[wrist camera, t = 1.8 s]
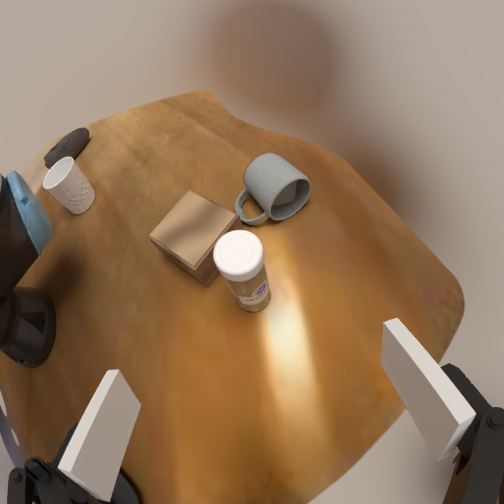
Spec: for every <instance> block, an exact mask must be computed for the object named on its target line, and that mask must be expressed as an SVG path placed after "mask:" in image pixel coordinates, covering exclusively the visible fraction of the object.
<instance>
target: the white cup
mask: <svg viewBox="0 0 504 504" xmlns="http://www.w3.org/2000/svg"><path fill="white" fill-rule="evenodd" d="M43 187H44V188H45V189H46V190H47V191H48V192H49V193H50V194H51V195H52V196H53V197H54V198H56V199H57V200H58V201H59V202H60V203H61V204H62V205H63V206H65V207H66V208H68V209H69V210H70V211H71V212H72V213H73V214H77V215H79V214H81V213H84V212H85V211H86V210H87V209H88V208H89V207H90V206H91V205H92V203H93V201H94V199H95V191H94V189H93V188H92V187H91V185H90V184H89V182H88V180H87V179H86V177H85V176H84V174H83V173H82V171H81V170H80V168H79V167H78V165H77V164H76V163H75V161H74V160H73V158H72V157H65V158H63V159H61V160H59V161H58V162H57V163H56V164H54V165H53V166H52V168H51V169H50V170H49V171H48V173H47V175H46V176H45V179H44V182H43Z"/></svg>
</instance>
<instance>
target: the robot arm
mask: <svg viewBox="0 0 504 504" xmlns="http://www.w3.org/2000/svg"><path fill="white" fill-rule="evenodd" d="M52 234H53V228H52V224H51V222H50V220H49V218H48V216H47V214H46V212H45V211H44V209H43V208H42V206H41V204H40V203H39V201H38V200H37V198H36V197H35V195H34V194H33V192H32V191H31V189H30V188H29V186H28V185H27V183H26V182H25V181H24V179H23V178H22V177H21V176H20V174H18V173H17V172H16V171H12V172H11V173H9V174H7V177H6V178H4V177H3V176H2V175H1V174H0V350H1V351H2V352H3V353H5V354H6V355H7V356H8V357H10V358H11V359H12V360H14V361H15V362H17V363H18V364H20V365H23V366H27V367H32V368H33V367H37V366H39V365H41V364H42V363H43V362H44V361H45V360H46V358H47V357H48V355H49V353H50V351H51V348H52V345H53V342H54V337H55V329H56V319H55V311H54V307H53V304H52V302H51V300H50V298H49V297H48V296H47V295H46V294H45V293H43V292H41V291H39V290H38V289H35V288H30V287H20V286H16V285H17V284H18V282H19V281H20V279H21V278H22V277H23V275H24V274H25V273H26V271H27V270H28V269H29V268H30V266H31V265H32V264H33V262H34V261H35V260H36V259H37V257H38V256H40V255H41V253H42V252H41V251H42V250H43V249H44V247H45V246H46V245H47V243H48V242H49V241H50V239H51V237H52ZM381 366H382V368H383V369H384V371H385V372H386V374H387V376H388V377H389V379H390V381H391V382H392V384H393V386H394V387H395V389H396V391H397V392H398V394H399V396H400V397H401V399H402V401H403V403H404V404H405V406H406V408H407V409H408V411H409V413H410V414H411V416H412V418H413V420H414V422H415V423H416V425H417V427H418V428H419V431H420V432H421V434H422V436H423V438H424V440H425V441H426V443H427V445H428V447H429V449H430V451H431V452H432V454H433V456H434V458H435V460H436V462H437V461H439V460H441V459H443V458H445V457H447V456H448V455H450V454H452V453H453V451H454V450H455V448H456V447H458V449H459V450H460V452H459V453H458V455H457V456H456V457H455V459H454V461H453V463H455V462H456V461H457V462H456V465H455V469H454V472H453V476H452V479H451V482H450V485H449V488H448V491H447V493H446V496H445V499H444V501H443V504H496V503H497V499H498V495H499V504H504V409H502V408H499V407H494V408H493V407H491V406H490V405H489V404H488V403H487V401H486V400H485V399H484V397H483V396H482V395H481V394H480V393H479V391H478V390H477V389H476V388H475V386H474V385H473V384H471V382H470V380H469V379H468V378H466V376H465V375H464V374H463V372H462V371H461V370H460V369H459V368H458V367H455V366H454V365H452V364H450V363H449V364H447V365H444V366H442V367H439V366H438V364H437V363H436V362H435V361H434V360H433V358H432V357H431V356H430V355H429V354H428V352H427V351H426V350H425V349H424V348H423V347H422V345H421V344H420V343H419V342H418V341H417V340H416V338H415V337H414V336H413V335H412V334H411V333H410V332H409V330H408V329H407V328H406V327H405V326H404V325H403V324H402V323H401V322H400V320H399V319H398V318H395V319H392V320H389V321H386V322H383V341H382V356H381ZM140 407H141V404H140V403H139V401H138V400H137V398H136V396H135V395H134V393H133V392H132V390H131V389H130V387H129V385H128V384H127V382H126V381H125V379H124V377H123V375H122V374H121V372H120V370H108V371H107V372H106V374H105V376H104V378H103V379H102V381H101V383H100V385H99V387H98V388H97V390H96V392H95V394H94V396H93V397H92V399H91V401H90V403H89V405H88V407H87V409H86V411H85V412H84V414H83V416H82V418H81V420H80V422H79V424H78V423H76V424H75V425H74V426H73V427H72V428H71V429H70V430H69V432H68V434H67V436H66V439H65V440H64V442H63V446H61V448H60V450H59V452H58V454H57V456H56V459H55V461H54V463H53V465H52V467H49V466H48V465H47V464H46V463H45V462H44V461H43V460H42V459H41V458H39V457H32V458H30V459H28V460H27V462H26V463H25V465H24V470H23V469H22V468H19V467H17V468H14V469H13V470H12V471H11V473H10V475H9V481H8V496H7V504H33V503H32V502H34V503H35V504H92V501H91V500H90V498H88V494H89V493H90V494H91V495H92V496H94V497H95V498H97V499H100V500H104V501H107V502H110V499H111V496H112V492H113V489H114V486H115V482H116V479H117V476H118V473H119V469H120V466H121V463H122V460H123V457H124V454H125V451H126V448H127V445H128V442H129V439H130V436H131V433H132V430H133V427H134V424H135V421H136V419H137V416H138V413H139V410H140Z"/></svg>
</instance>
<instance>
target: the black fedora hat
mask: <svg viewBox="0 0 504 504" xmlns="http://www.w3.org/2000/svg"><path fill="white" fill-rule="evenodd" d="M55 459H56V458H55ZM55 459H54V460H53V461H52V462H51V463H46V464H47V465H48V466H49V467H52V465H53V463H54V461H55ZM88 498H90V500H91V501H92V504H139V500H138V496H137V494H136V493H135V491H134V489H133V487H132V486H131V485H130V484H129V482H128V481H127V480H126V478H125V477H124V476H123V475H122V474H121V473H120V472H119V473H118V476H117V479H116V482H115V486H114V489H113V492H112V496H111V499H110V502H107V501H104V500H100V499H97V498H95V497H94V496H92V495H91V494H90V493H89V494H88ZM34 504H35V503H34Z"/></svg>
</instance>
